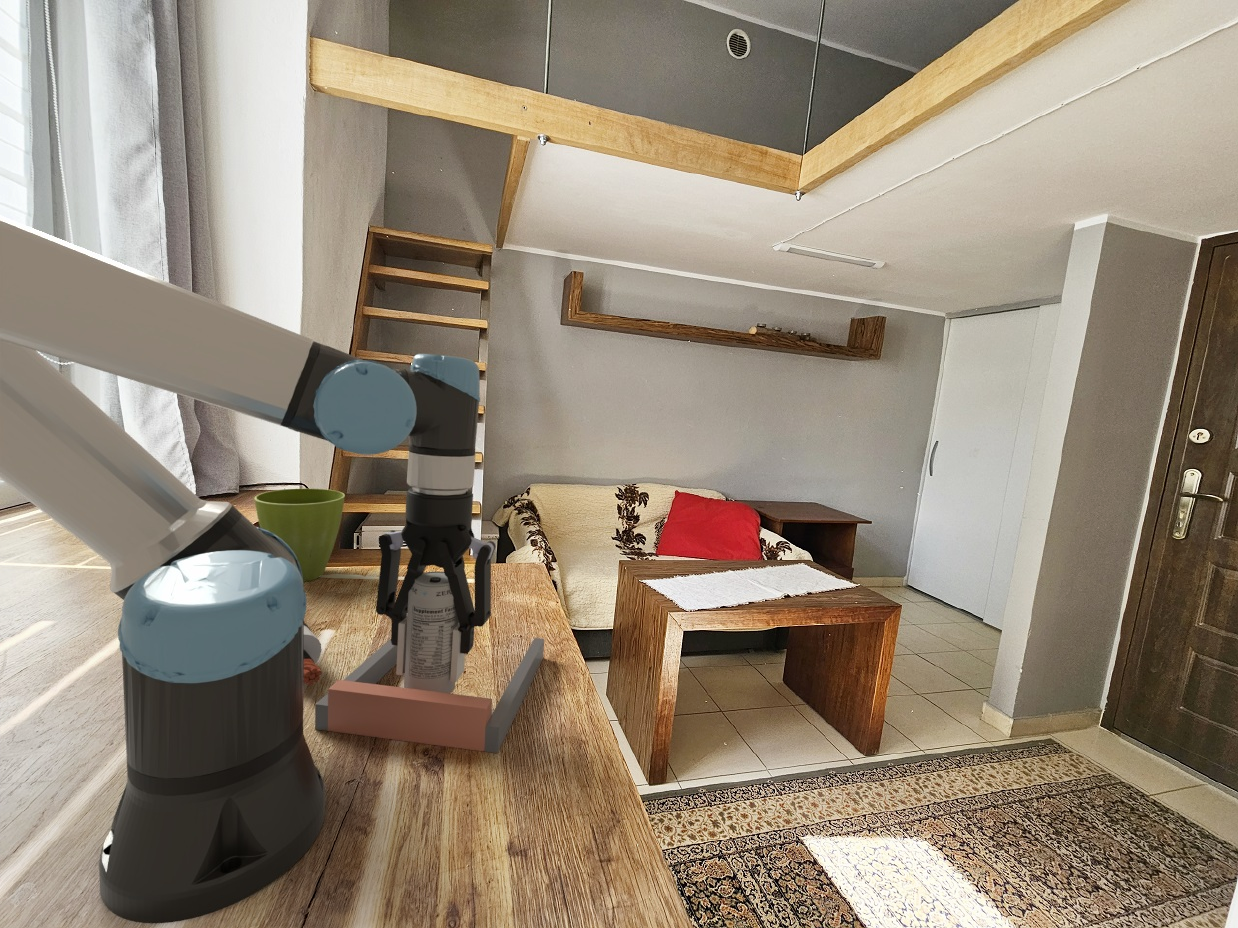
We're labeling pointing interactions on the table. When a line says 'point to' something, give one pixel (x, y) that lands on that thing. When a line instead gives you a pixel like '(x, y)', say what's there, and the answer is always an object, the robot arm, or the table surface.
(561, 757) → the table surface
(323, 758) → the table surface
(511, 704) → the guide lane
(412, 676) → the energy drink can
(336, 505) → the flower pot
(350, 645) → the table surface
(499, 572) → the table surface
